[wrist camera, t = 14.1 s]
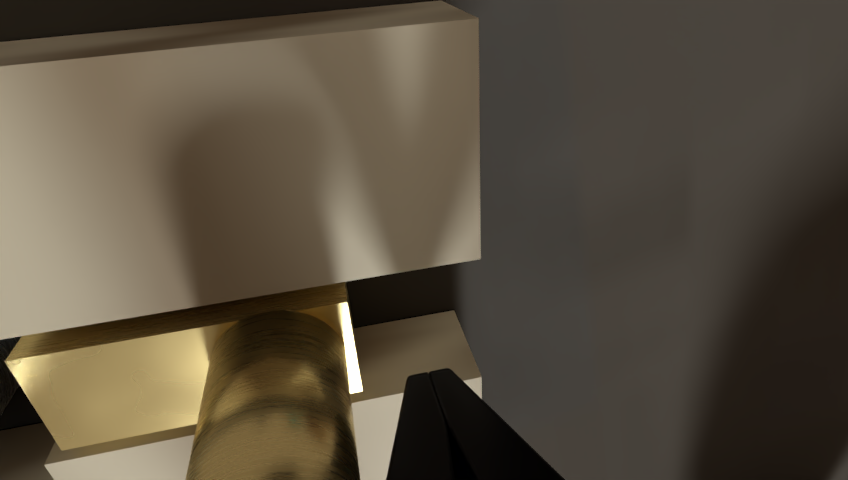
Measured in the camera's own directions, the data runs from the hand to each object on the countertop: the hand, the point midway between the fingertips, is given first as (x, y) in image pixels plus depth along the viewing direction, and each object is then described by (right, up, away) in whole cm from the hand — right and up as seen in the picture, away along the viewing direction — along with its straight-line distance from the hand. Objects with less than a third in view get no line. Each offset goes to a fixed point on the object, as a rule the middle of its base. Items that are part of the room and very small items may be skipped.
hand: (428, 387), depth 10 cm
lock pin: (-5, +1, +3) cm, 6 cm away
